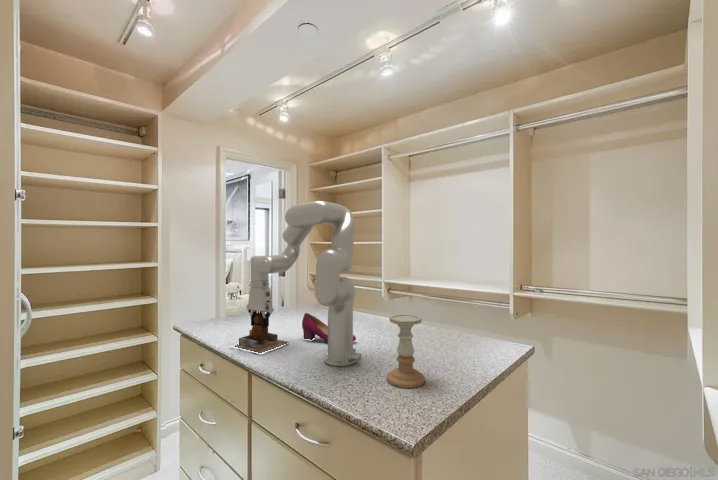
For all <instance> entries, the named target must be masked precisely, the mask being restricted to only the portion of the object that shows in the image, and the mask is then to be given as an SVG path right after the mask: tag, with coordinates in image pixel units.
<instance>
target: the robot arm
mask: <svg viewBox="0 0 718 480" xmlns="http://www.w3.org/2000/svg"><path fill="white" fill-rule="evenodd" d="M284 216H285V217H284V220H285V223H286V224H287V227H285V230H284V231H283V233H282V234H281V235H282V239H283V241H284V242H285V243H286V244H287V245H286V248H285V249H284V250H283V252H282V253H281V254H278V255H277V254H276V255H253V256H251V258H250V259H249V260H250V262H249V263H250V265H249V266H250V273H249V274H250V287H249V292H248V304H247V305H246V307H245V308H246V310H247V312H248V313H249V317H250V326H253V325H254V324H255V323H254V317H255V315H256V312H257V313H258V311H259V312H260V311H261V312H262V315H263V318H262V327H263V328H265V327H268V328H269V326H270V317H271V315H272V313H273V312H274V311H275V310H274V308H273V300H272V292H271V287H269V286H270V281H269V279H270V278H269V275H270V274H271V275H272V274H279V273H285V272H287V271H288V270H289V269H291V268H292V266H293V265H294V264H295V262H296V261H297V260H298V257H299V256H300V251H301V245H302V243H304V240H305V239H306V238H307V237H308V235H309V233H310V232H311V231H312V230H313V228H314V227H315V226H316V225H325V226H326V225H328V226H329V225H330V226H333V227H334V228H333V230H332V232H331V233H332V234H331V238H330V239H331V241H330V248H326V249H324V250H322V252H320V254H319V255H318V256H317V259H316V264H315V286H314V287H315V289H314V291H315V292H314V293H315V297H316V300H317V301H318V303H319V304H320V305H322V306H324V307H328V311H327V326H328V343H327V354H326V355H324V357H323V362H324V363H325V364H326V365H328V364H329V365H328V366H331V365H332V366H331V367H347V366H351V365H353V364H355V363H357V362H360V361H361V360H362V353H359V352H356V351H357V349H356V348H355V347H354V341H353V335H354V302H355V297H356V295H355V294H356V288H355V284H354V282H353V281H352V280H351V279H350V278H349V277H346V276H341V274H346V273H348V272H349V271H351V269H352V268H353V265H354V246H355V245H354V237H355V218H354V217H355V216H354V215H353V213H352V212H351V210H349V209H348V208H347V207H346V206H344V205H342V204H339V203H336V202H329V201H325V200H314V201H309V202H304V203H298V204H294V205H291V206H290V207H288V208H287V210H286V212H285V214H284Z"/></svg>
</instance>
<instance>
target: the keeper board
mask: <svg viewBox="0 0 718 480" xmlns="http://www.w3.org/2000/svg"><path fill="white" fill-rule="evenodd" d="M251 331H252V329H249V333H248V334H249V335H244V336H241V337H239V338H238V342H239V345H238V344H237V346H236V345H235V347H238V348H242V349H246V350H250V351H254V352H258V353H262V352H265V351H268V350H271V349H274V348H276V347H279V346H281V345H284V344H287V343H289V344H290V342H289V341H286V340H281V339H278V337H279V336H278V334H277V333H271V332H268V335H267V338H266V340H265V341H262V342H258V341H255V340H253V338H252V333H251Z"/></svg>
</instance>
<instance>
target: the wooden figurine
mask: <svg viewBox="0 0 718 480" xmlns="http://www.w3.org/2000/svg"><path fill="white" fill-rule="evenodd" d="M262 318H263V315H262V312H261V311H257V312H256V315H255V317H254V323H255V324H254V325H253V326H252V327H251V330H252V331H251V333H252V338H253V340H255V341H258V342H262V341H265V340H266V338H267V335H268V333H269V326H268V327H265V328H263V327H262Z"/></svg>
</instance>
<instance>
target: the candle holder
mask: <svg viewBox="0 0 718 480" xmlns="http://www.w3.org/2000/svg"><path fill="white" fill-rule="evenodd" d="M388 319H389V320H388V321H389V322H390V323H392V324H395V325H397V327H398V328H399V333H398V334H397V337H398V339H399V342H398V345H397V348H396V349H397V350H396V352H397V354H398V356H396V362H397V363H398V367H396V368H394V369H392V370H391V371H389V372H388V373H387V375H386V380H387V382H388V383H389V384H390V385H392V386H393V387H397V388H402V389H414V388H415V389H416V388H419V387H422V386H423V385H425V382H426V377H425V375H424V374H423V373H422V372H420V370H419V371H418V370H417V369H416V368H414V365H413V364H414V362H415V360H416V359H415V357H414V356H413V355H414V353H415V348H414V346H413V341H412V340H413V338H414V335H413V334H412V328H413V327H414V325H419V324H421V323H422V321H423V319H422V317H421V316H418V315H413V314H395V315H391V316H390V317H389V318H388Z"/></svg>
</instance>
